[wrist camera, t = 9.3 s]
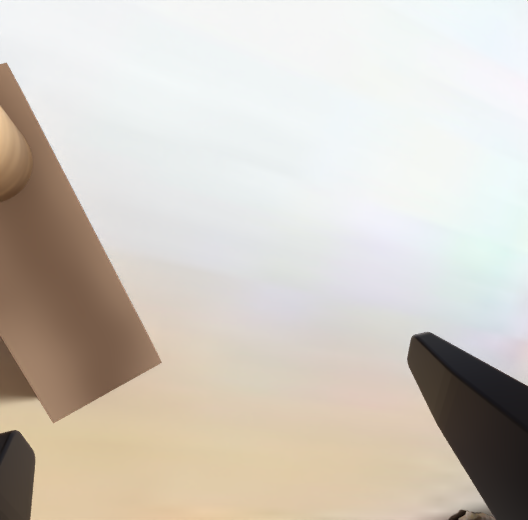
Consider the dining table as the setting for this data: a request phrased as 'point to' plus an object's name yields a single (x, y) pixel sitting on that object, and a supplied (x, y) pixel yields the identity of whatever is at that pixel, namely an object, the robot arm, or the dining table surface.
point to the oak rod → (13, 158)
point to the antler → (476, 516)
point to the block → (61, 285)
